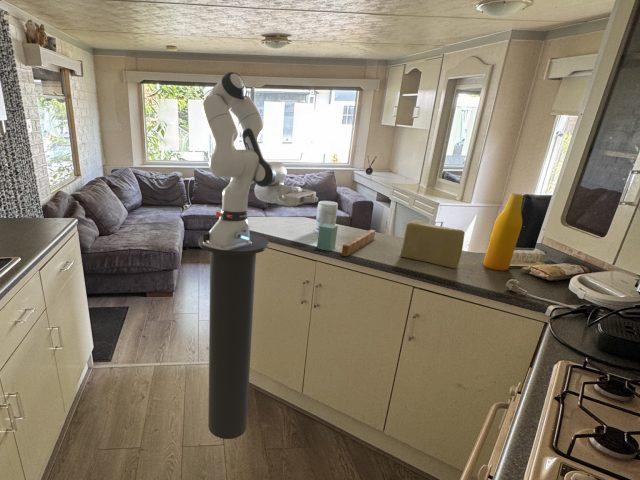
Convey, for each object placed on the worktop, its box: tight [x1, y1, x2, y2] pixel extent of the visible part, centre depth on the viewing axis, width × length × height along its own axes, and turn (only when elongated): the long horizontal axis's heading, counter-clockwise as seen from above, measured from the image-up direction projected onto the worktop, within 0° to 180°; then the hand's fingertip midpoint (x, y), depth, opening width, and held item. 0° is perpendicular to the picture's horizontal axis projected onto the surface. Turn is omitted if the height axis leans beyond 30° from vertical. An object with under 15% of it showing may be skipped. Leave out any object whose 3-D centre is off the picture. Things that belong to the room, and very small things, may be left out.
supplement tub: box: [314, 200, 339, 234], centre depth 210 cm, size 10×10×15 cm
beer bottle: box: [483, 193, 524, 272], centre depth 167 cm, size 9×9×29 cm
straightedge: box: [341, 229, 376, 257], centre depth 191 cm, size 34×2×4 cm, turn 145°
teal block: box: [316, 224, 339, 252], centre depth 186 cm, size 6×6×10 cm
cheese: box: [400, 219, 466, 269], centre depth 174 cm, size 22×10×15 cm, turn 44°
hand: (316, 200), depth 184 cm, fingers closed
